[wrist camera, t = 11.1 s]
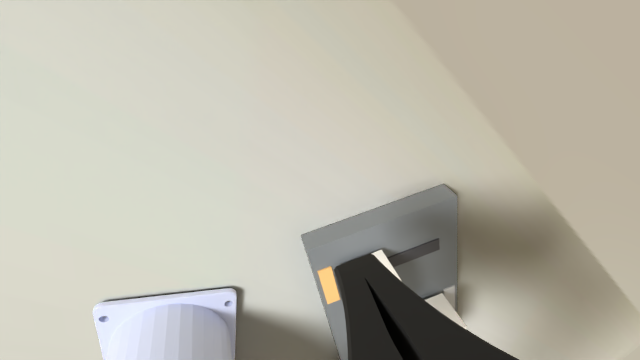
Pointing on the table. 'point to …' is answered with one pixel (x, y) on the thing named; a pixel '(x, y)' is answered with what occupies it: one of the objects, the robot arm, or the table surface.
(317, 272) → the switch panel
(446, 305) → the tab
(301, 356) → the table surface
